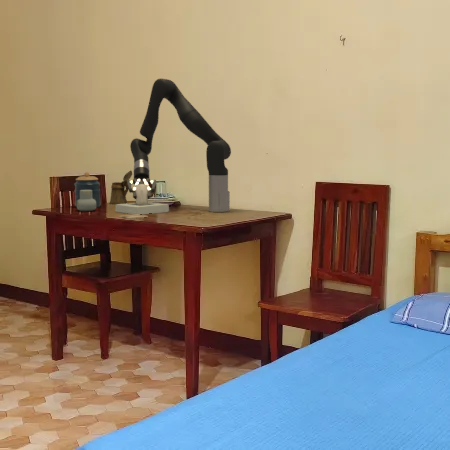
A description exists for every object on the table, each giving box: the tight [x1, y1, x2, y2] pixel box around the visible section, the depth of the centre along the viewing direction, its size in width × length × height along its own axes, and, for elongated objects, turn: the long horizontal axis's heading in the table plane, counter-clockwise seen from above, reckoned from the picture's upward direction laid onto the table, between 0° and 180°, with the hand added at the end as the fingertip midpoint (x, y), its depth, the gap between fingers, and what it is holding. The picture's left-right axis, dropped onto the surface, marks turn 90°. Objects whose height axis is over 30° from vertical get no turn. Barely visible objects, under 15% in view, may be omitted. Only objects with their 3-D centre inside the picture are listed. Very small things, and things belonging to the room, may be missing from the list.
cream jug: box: [135, 184, 149, 206], centre depth 292 cm, size 8×6×13 cm
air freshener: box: [76, 190, 97, 212], centre depth 298 cm, size 11×8×10 cm
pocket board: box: [114, 201, 170, 215], centre depth 294 cm, size 18×18×4 cm
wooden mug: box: [109, 170, 133, 205], centre depth 331 cm, size 9×14×18 cm, turn 63°
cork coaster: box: [118, 214, 149, 220], centre depth 273 cm, size 9×9×1 cm
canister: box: [73, 171, 102, 208], centre depth 316 cm, size 13×13×18 cm
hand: (141, 197), depth 291 cm, fingers closed on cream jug, 5 cm apart
